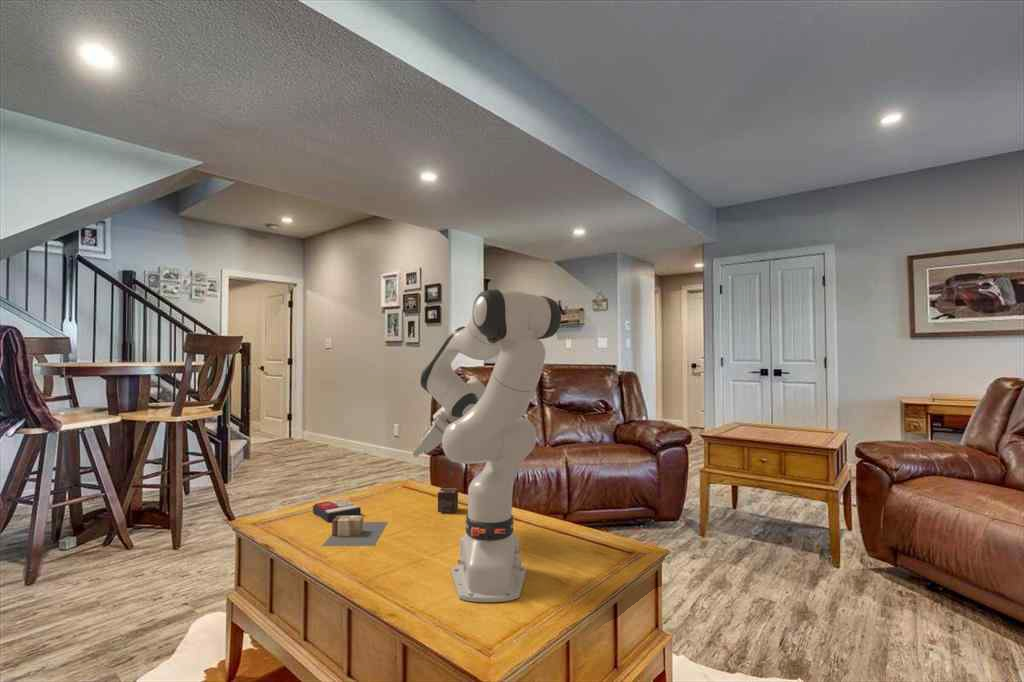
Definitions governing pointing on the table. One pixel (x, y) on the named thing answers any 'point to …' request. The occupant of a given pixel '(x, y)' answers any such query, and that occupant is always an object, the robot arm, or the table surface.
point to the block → (347, 526)
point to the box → (448, 500)
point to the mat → (365, 539)
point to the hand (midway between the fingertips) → (414, 455)
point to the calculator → (335, 509)
